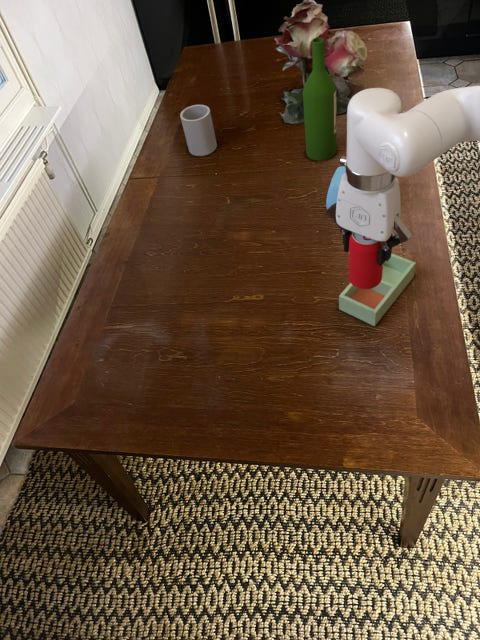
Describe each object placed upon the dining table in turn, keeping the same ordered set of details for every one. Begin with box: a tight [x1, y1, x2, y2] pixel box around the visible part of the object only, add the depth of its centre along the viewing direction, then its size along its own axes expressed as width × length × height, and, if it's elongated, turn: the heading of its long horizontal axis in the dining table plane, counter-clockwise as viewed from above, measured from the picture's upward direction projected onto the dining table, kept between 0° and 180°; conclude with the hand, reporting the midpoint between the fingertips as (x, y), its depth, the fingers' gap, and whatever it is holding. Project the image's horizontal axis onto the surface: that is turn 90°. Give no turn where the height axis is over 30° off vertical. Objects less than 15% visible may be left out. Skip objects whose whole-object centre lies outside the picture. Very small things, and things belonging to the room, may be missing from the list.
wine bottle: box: [303, 38, 337, 162], centre depth 145 cm, size 9×9×32 cm
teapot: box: [325, 165, 346, 211], centre depth 136 cm, size 12×18×12 cm
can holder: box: [338, 252, 417, 327], centre depth 119 cm, size 9×17×5 cm, turn 141°
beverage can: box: [348, 232, 383, 289], centre depth 97 cm, size 6×6×12 cm
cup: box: [179, 104, 218, 157], centre depth 164 cm, size 9×9×12 cm
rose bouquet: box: [274, 0, 368, 125], centre depth 165 cm, size 26×29×30 cm
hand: (366, 253), depth 96 cm, fingers closed on beverage can, 6 cm apart
